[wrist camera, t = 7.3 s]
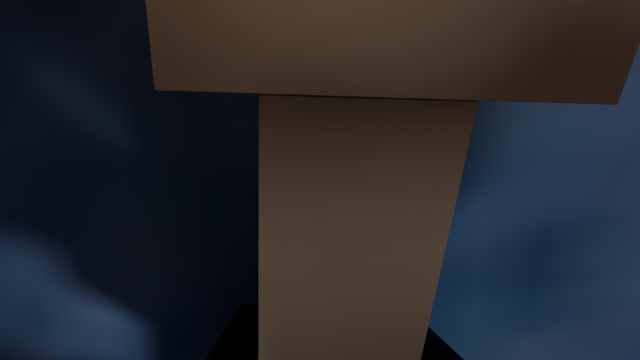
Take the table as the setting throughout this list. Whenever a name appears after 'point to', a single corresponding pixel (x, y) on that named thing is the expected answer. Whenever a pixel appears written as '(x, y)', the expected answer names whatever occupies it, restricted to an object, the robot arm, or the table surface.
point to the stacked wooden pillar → (375, 137)
